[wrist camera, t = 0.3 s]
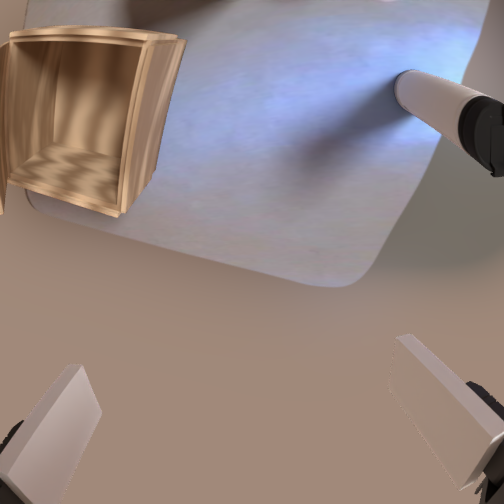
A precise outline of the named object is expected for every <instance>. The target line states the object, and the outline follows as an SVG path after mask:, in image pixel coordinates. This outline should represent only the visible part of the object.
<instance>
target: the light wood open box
mask: <svg viewBox="0 0 504 504" xmlns="http://www.w3.org/2000/svg"><path fill="white" fill-rule="evenodd" d="M177 36H178V35H174V34H169V33H162V32H156V31H148V30H141V29H132V28H121V27H108V26H83V25H63V26H47V27H39V28H32V29H26V30H21V31H15V32H11V33H10V41H9V42H10V45H9V52H8V61H7V71H6V84H5V112H4V119H5V149H6V162H7V173H8V177H9V178H8V179H7V183H10V184H13V185H16V186H19V187H22V188H25V189H28V190H31V191H34V192H38V193H41V194H44V195H47V196H50V197H53V198H56V199H59V200H63V201H66V202H69V203H72V204H75V205H78V206H81V207H85V208H88V209H91V210H94V211H97V212H100V213H104V214H107V215H110V216H113V217H116V218H118V217H119V215H120V214H121V212H122V213H126V212H127V210H128V209H129V208H130V206H131V205H132V204H133V202H134V201H135V200H136V198H137V197H138V196H139V194H140V193H141V192H142V190H143V189H144V188H145V186H146V185H147V184H148V183H149V181H150V180H151V178H152V174H153V172H154V171H155V170H156V164H157V159H158V154H159V149H160V144H161V139H162V134H163V130H164V125H165V121H166V117H167V112H168V108H169V104H170V100H171V96H172V92H173V88H174V85H175V81H176V77H177V74H178V70H179V67H180V63H181V60H182V56H183V53H184V50H185V47H186V43H187V40H184V39H179V38H177Z"/></svg>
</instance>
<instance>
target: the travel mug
mask: <svg viewBox="0 0 504 504" xmlns="http://www.w3.org/2000/svg"><path fill="white" fill-rule="evenodd" d="M394 94H395V97H396V100H397V102H398V103H399V105H400V106H401V107H402V108H404V109H405V110H407V111H408V112H410V113H411V114H413V115H414V116H416V117H417V118H419V119H420V120H422V121H423V122H425V123H426V124H428V125H429V126H431V127H432V128H434V129H435V130H436V131H438V132H439V133H441V134H442V135H443V136H445V137H446V138H448V139H449V140H450V141H452V142H453V143H454V144H455V145H457V146H458V147H459V148H461V149H462V150H463V151H464V152H466V153H467V154H468V155H470V156H471V157H473V158H474V159H475V160H476V161H478V162H479V163H480V164H481V165H482V166H483V167H485V168H486V169H487V170H489V171H491V172H493V173H491V175H492V176H493V177H502V176H504V104H503V103H501V102H499V101H497V100H495V99H493V98H492V97H490V96H487V95H485V94H483V93H480V92H478V91H476V90H473V89H471V88H468V87H466V86H463V85H460V84H458V83H455V82H452V81H449V80H446V79H443V78H440V77H437V76H434V75H431V74H428V73H425V72H421V71H418V70H407V71H404V72H403V73H401V74H400V75H399V76H398V78H397V79H396V82H395V85H394Z"/></svg>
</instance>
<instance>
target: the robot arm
mask: <svg viewBox="0 0 504 504" xmlns="http://www.w3.org/2000/svg"><path fill="white" fill-rule="evenodd" d="M388 389H389V391H390V392H391V394H392V395H393V396H394V398H395V399H396V401H397V402H398V403H399V405H400V406H401V408H402V409H403V410H404V412H405V413H406V415H407V416H408V417H409V418H410V420H411V422H412V423H413V424H414V426H415V427H416V429H417V430H418V432H419V433H420V435H421V436H422V437H423V439H424V440H425V442H426V443H427V445H428V446H429V447H430V449H431V450H432V452H433V453H434V455H435V456H436V458H437V459H438V461H439V462H440V463H441V465H442V466H443V468H444V470H445V471H446V473H447V474H448V476H449V477H450V479H451V480H452V482H453V483H454V484H455V486H456V487H457V489H458V491H460V490H462V489H464V488H465V487H467V486H469V485H470V484H472V483H474V482H475V481H476V480H477V479H478V477H479V476H480V475H481V473H482V472H484V473H485V474H486V477H485V479H484V480H483V481H482V483H481V484H480V485H479V487H478V488H477V489H476V491H475V494H477V493H478V492H479V491H480V490H481V488H482V493H481V498H480V503H479V504H504V407H503V406H502V405H501V404H500V403H499V402H496V399H495V398H493V396H490V394H489V393H488V392H487V391H486V390H485V389H484V388H483V387H482V386H480V385H478V384H476V383H473V382H471V381H469V382H467V383H464V382H463V381H462V380H461V379H460V378H459V377H458V376H457V375H456V374H455V373H453V372H452V371H451V370H450V369H449V368H448V367H447V366H446V365H445V364H444V363H443V362H442V361H441V360H440V359H438V358H437V357H436V356H435V355H434V354H433V353H432V352H431V351H430V350H429V349H428V348H426V347H425V346H424V345H423V344H422V343H421V342H420V341H419V340H418V339H416V338H415V337H414V336H413V335H412V334H406V335H402V336H398V337H396V339H395V346H394V353H393V360H392V367H391V373H390V378H389V383H388ZM101 415H102V411H101V408H100V406H99V404H98V402H97V399H96V397H95V395H94V392H93V390H92V388H91V385H90V383H89V380H88V378H87V375H86V373H85V370H84V367H83V365H77V364H68V366H67V367H66V368H65V369H64V370H63V372H62V373H61V374H60V375H59V377H58V378H57V379H56V380H55V382H54V383H53V384H52V385H51V387H50V388H49V389H48V390H47V392H46V393H45V394H44V396H43V397H42V398H41V399H40V401H39V402H38V403H37V405H36V406H35V407H34V409H33V410H32V411H31V413H30V414H29V415H28V417H27V418H26V419H25V421H24V420H22V421H21V422H19V423H18V424H17V425H15V426H14V427H13V428H12V429H11V431H10V432H9V434H8V437H5V439H4V440H3V444H0V504H60V503H61V501H62V498H63V496H64V493H65V492H66V489H67V487H68V485H69V482H70V480H71V478H72V476H73V473H74V471H75V469H76V467H77V465H78V463H79V461H80V458H81V456H82V454H83V452H84V450H85V448H86V446H87V444H88V442H89V439H90V437H91V435H92V433H93V431H94V429H95V427H96V425H97V423H98V421H99V419H100V417H101Z"/></svg>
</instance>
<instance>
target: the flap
mask: <svg viewBox="0 0 504 504" xmlns="http://www.w3.org/2000/svg"><path fill="white" fill-rule="evenodd" d="M9 45H10V42H5V43H4V44H2V45H0V215H2V214H4V204H5V195H6V194H5V193H6V186H7V179H8V173H7V162H6V149H5V119H4V112H5V84H6V71H7V61H8V52H9Z"/></svg>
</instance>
